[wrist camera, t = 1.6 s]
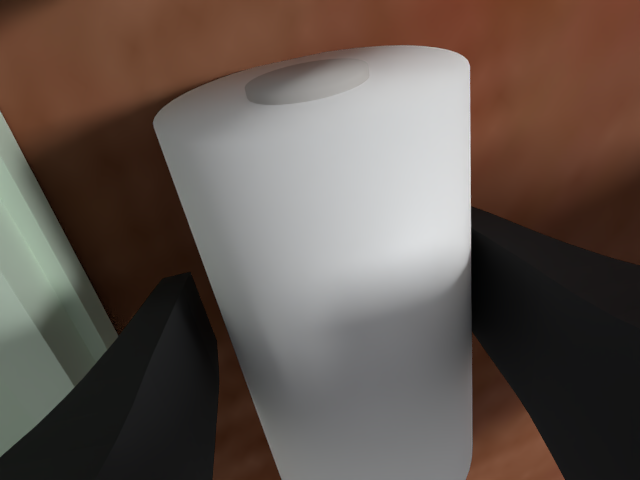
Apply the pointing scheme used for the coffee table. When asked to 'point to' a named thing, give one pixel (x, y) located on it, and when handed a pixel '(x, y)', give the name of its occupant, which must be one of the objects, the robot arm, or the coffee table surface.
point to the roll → (340, 252)
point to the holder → (39, 303)
